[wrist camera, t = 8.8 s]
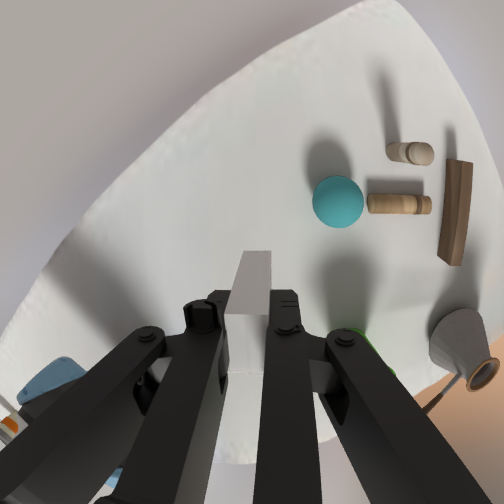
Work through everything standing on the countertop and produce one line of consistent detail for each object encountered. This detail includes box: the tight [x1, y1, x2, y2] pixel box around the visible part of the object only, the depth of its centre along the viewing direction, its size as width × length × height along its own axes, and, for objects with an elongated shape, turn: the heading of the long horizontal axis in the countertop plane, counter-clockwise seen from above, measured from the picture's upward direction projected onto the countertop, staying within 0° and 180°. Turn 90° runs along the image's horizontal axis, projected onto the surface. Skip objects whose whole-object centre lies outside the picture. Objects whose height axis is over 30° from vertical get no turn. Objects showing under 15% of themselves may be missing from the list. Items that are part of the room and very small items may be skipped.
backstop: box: [437, 159, 473, 266], centre depth 31 cm, size 2×14×4 cm, turn 2°
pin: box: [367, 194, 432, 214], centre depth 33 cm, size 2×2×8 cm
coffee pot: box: [422, 308, 500, 415], centre depth 34 cm, size 21×12×15 cm, turn 119°
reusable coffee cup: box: [0, 411, 18, 446], centre depth 63 cm, size 13×13×15 cm
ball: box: [312, 176, 364, 228], centre depth 32 cm, size 6×6×6 cm
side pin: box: [386, 142, 434, 166], centre depth 28 cm, size 2×2×8 cm
